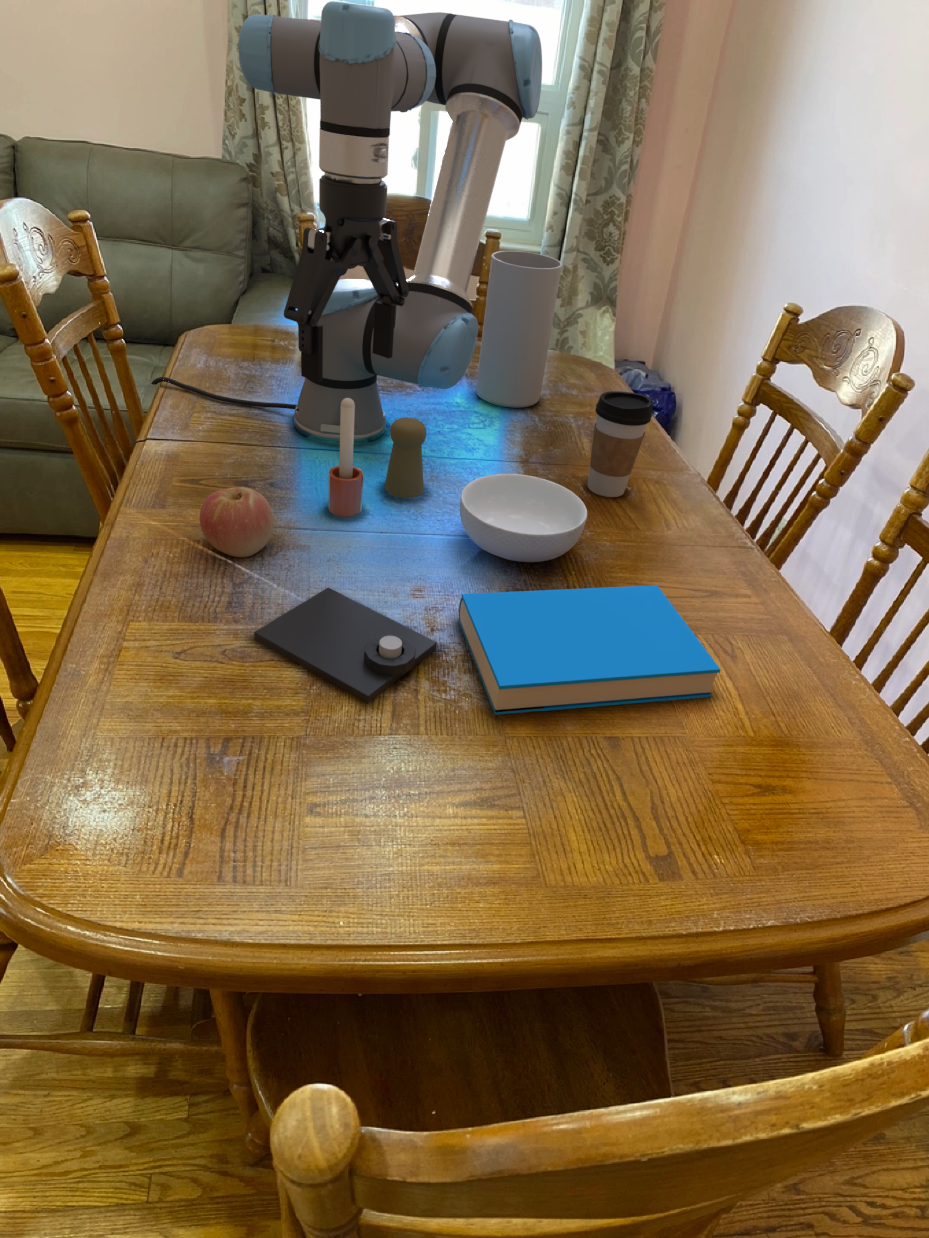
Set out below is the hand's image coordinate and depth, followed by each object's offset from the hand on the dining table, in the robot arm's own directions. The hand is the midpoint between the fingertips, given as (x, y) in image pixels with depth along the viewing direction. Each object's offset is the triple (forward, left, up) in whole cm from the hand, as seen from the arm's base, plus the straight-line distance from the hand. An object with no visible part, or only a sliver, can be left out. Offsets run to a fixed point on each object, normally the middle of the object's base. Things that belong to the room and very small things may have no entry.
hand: (348, 366), depth 103 cm
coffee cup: (+24, +35, -21) cm, 47 cm away
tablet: (+20, -23, -21) cm, 37 cm away
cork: (+2, +11, -21) cm, 24 cm away
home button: (+26, -23, -18) cm, 39 cm away
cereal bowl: (+23, +9, -21) cm, 32 cm away
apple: (-3, -17, -21) cm, 27 cm away
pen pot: (0, 0, -21) cm, 21 cm away
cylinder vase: (-8, +57, -21) cm, 61 cm away
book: (+41, -7, -21) cm, 47 cm away
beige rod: (0, 0, -20) cm, 20 cm away
